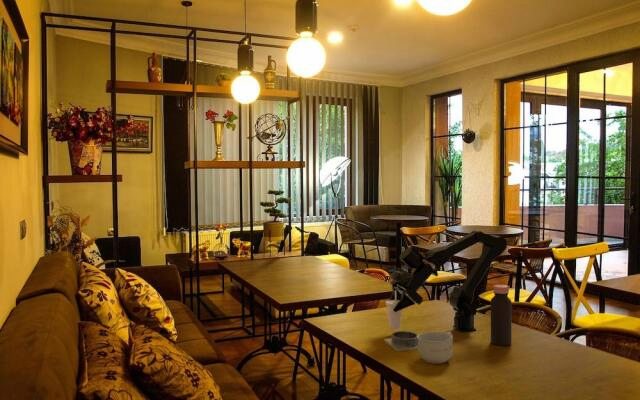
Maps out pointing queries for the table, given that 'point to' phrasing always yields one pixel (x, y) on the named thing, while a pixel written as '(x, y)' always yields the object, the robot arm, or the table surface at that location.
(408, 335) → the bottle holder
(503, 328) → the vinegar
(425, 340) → the teacup
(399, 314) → the smoothie
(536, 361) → the table surface
